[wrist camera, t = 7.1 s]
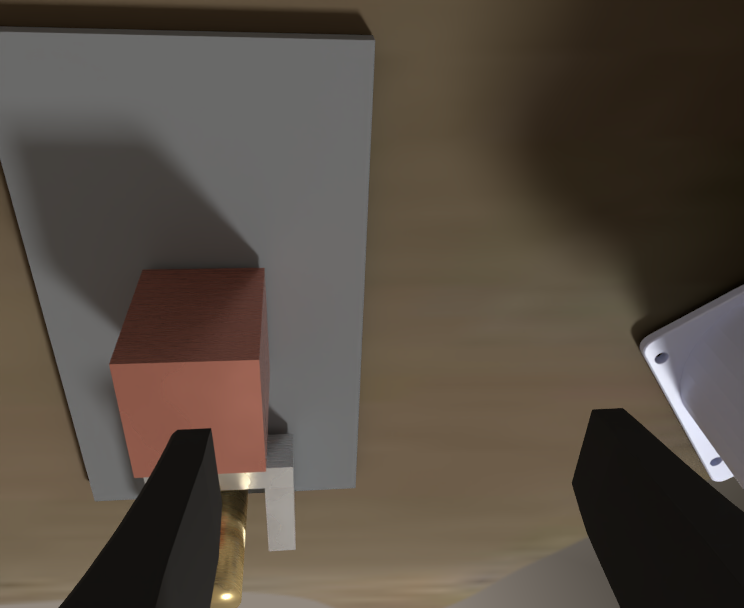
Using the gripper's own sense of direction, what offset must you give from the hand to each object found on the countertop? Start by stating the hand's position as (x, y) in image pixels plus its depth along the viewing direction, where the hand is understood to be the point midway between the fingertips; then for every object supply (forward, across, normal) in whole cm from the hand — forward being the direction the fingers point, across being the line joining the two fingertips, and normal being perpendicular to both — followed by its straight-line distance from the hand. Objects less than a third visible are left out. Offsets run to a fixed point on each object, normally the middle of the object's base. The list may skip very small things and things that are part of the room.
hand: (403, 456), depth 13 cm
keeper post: (+9, +5, +10) cm, 15 cm away
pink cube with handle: (+9, +5, +7) cm, 12 cm away
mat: (+10, +5, +3) cm, 11 cm away
